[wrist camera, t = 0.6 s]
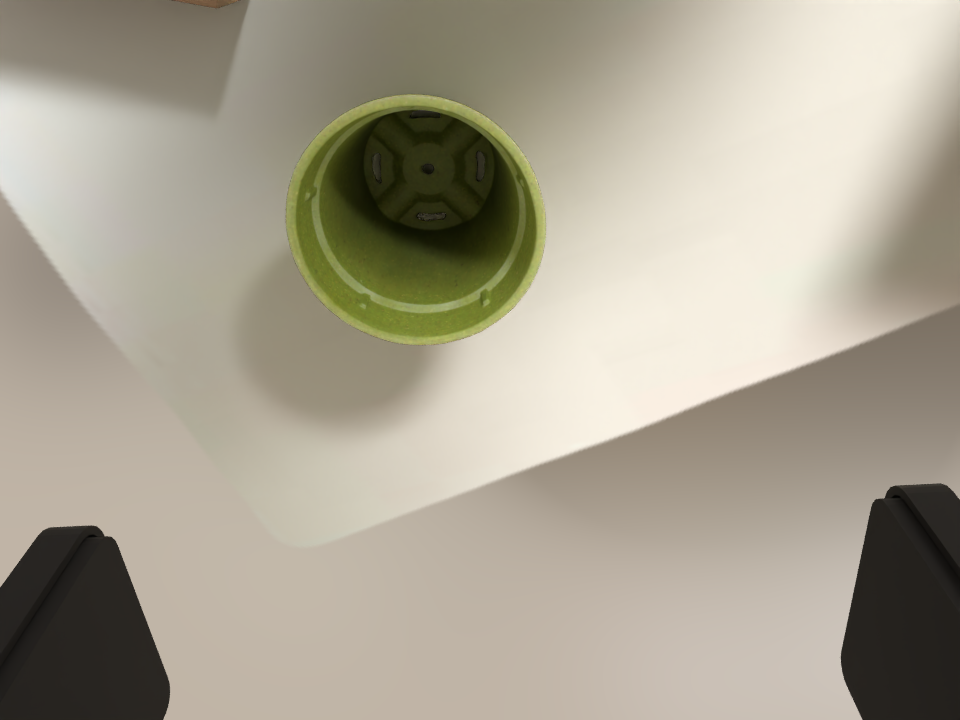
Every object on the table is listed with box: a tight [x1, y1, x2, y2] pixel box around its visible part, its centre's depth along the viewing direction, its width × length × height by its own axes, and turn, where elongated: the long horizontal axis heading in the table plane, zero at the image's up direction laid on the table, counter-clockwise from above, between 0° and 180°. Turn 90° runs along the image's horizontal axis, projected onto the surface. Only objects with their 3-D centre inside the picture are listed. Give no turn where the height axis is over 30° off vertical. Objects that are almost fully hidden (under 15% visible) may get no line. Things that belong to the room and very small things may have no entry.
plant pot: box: [286, 94, 546, 345], centre depth 33 cm, size 9×9×9 cm
